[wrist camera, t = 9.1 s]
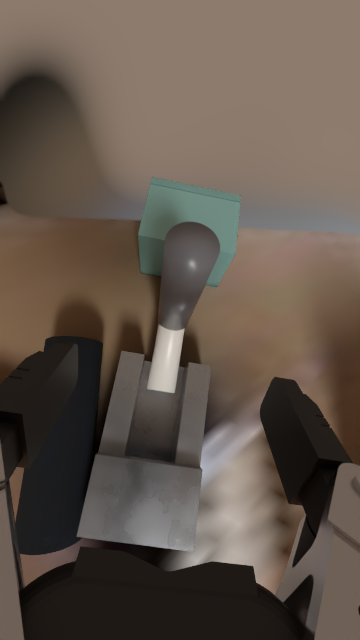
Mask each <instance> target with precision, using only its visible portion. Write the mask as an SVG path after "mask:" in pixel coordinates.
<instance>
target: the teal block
mask: <svg viewBox="0 0 360 640" xmlns="http://www.w3.org/2000/svg"><path fill="white" fill-rule="evenodd" d="M240 197H241V196H240V195H235V194H231V193H226V192H221V191H216V190H212V189H207V188H202V187H197V186H193V185H188V184H183V183H178V182H173V181H169V180H164V179H159V178H154V177H152V179H151V184H150V188H149V192H148V196H147V200H146V204H145V208H144V212H143V216H142V220H141V224H140V228H139V232H138V244H139V257H140V270H141V273H144V274H149V275H155V276H160V277H161V276H162V264H163V252H164V241H165V237H166V234H167V233H168V231H169V230H170V229H171V228H172V227H173V226H175V225H177V224H179V223H182V222H197V223H201V224H203V225H205V226H207V227H209V228H210V229H211V230H212V231H213V232H214V233H215V234H216V236H217V238H218V240H219V243H220V253H219V256H218V258H217V261H216V263H215V265H214V267H213V269H212V271H211V274H210V276H209V278H208V280H207V282H206V284H205V285H208V286H213V287H217V286H218V284H219V282H220V280H221V279H222V277H223V275H224V273H225V272H226V270H227V268H228V266H229V264H230V263H231V261H232V259H233V257H234V256H235V253H236V242H237V231H238V220H239V209H240V199H241V198H240Z"/></svg>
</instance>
